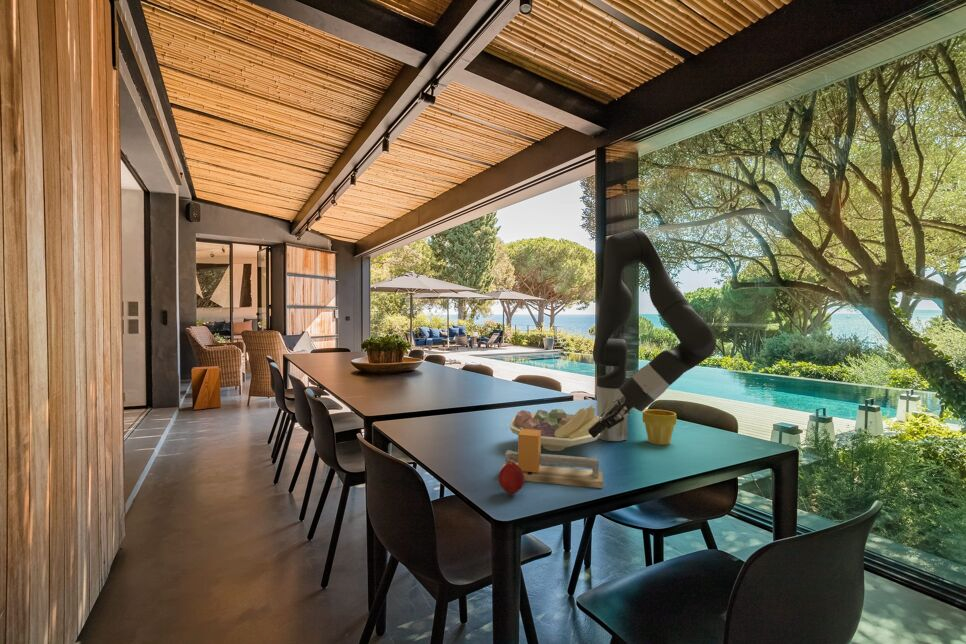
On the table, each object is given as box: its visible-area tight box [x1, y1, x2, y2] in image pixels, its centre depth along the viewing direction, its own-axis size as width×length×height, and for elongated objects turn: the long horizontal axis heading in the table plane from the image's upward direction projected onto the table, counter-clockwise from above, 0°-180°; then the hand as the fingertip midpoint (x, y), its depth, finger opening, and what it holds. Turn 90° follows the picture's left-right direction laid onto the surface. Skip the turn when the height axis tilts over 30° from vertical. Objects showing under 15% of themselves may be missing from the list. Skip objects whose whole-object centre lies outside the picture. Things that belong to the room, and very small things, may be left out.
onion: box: [498, 460, 525, 496], centre depth 104 cm, size 6×6×8 cm
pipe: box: [504, 449, 600, 478], centre depth 116 cm, size 23×3×4 cm, turn 77°
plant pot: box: [642, 409, 677, 446], centre depth 150 cm, size 10×10×10 cm
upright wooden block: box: [517, 429, 542, 472], centre depth 117 cm, size 5×6×9 cm
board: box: [498, 462, 604, 489], centre depth 116 cm, size 25×8×2 cm, turn 77°
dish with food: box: [508, 404, 600, 452], centre depth 141 cm, size 28×28×14 cm
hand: (590, 434), depth 114 cm, fingers closed
